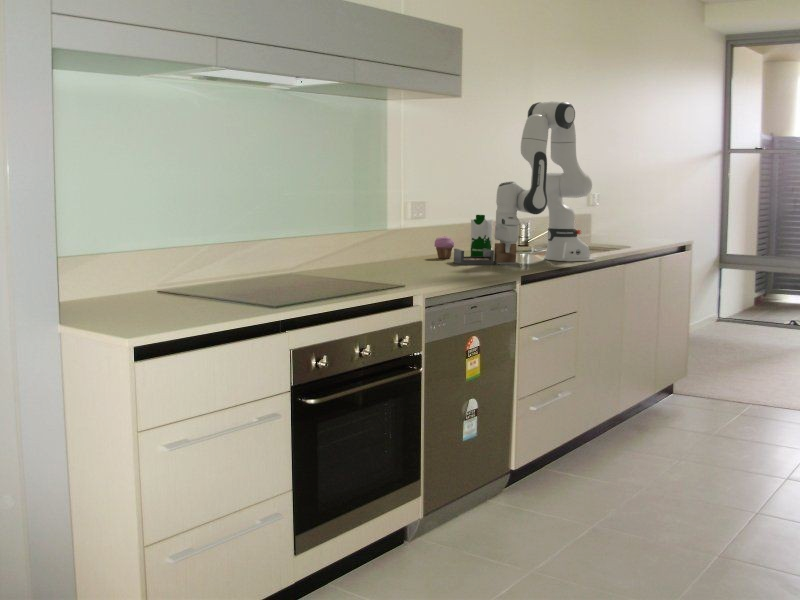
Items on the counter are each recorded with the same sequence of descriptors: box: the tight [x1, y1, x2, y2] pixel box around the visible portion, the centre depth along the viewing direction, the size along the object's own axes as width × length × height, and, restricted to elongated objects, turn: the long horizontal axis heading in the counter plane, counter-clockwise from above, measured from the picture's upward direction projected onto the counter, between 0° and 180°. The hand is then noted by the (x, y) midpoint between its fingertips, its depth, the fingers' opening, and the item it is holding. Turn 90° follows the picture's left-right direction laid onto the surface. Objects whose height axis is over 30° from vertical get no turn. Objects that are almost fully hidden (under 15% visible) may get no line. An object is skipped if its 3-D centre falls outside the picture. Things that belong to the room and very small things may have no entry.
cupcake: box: [434, 236, 455, 260], centre depth 397 cm, size 9×9×10 cm
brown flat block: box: [493, 242, 517, 262], centre depth 380 cm, size 9×2×8 cm, turn 102°
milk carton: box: [470, 214, 494, 256], centre depth 395 cm, size 9×9×20 cm
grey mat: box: [494, 261, 520, 265], centre depth 380 cm, size 10×9×1 cm
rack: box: [453, 248, 495, 266], centre depth 377 cm, size 14×11×6 cm
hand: (505, 252), depth 380 cm, fingers open, 3 cm apart
